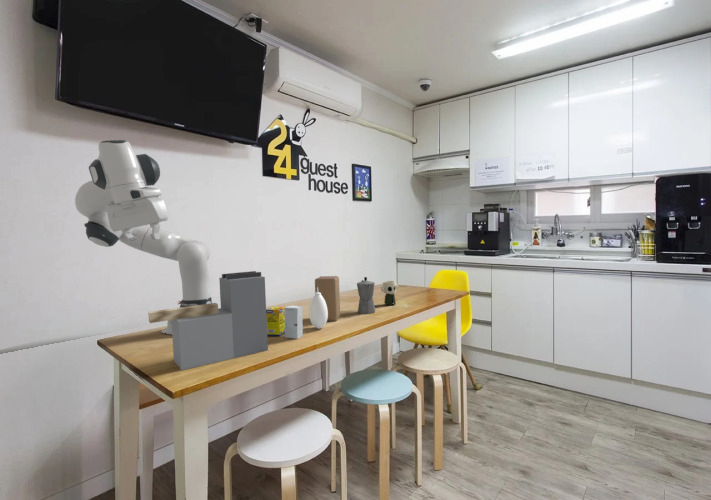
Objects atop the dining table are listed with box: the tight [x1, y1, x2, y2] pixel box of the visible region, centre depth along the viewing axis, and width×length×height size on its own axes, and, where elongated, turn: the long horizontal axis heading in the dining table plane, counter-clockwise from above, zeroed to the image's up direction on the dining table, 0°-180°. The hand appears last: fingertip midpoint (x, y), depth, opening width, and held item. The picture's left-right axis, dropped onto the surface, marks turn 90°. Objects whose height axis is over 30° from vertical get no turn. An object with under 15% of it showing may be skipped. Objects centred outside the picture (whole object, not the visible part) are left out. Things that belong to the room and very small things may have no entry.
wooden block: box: [314, 275, 341, 322], centre depth 170 cm, size 10×10×20 cm
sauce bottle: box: [308, 287, 328, 330], centre depth 154 cm, size 8×8×18 cm
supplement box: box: [266, 306, 286, 337], centre depth 146 cm, size 6×6×11 cm
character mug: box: [380, 280, 399, 306], centre depth 200 cm, size 11×7×13 cm, turn 117°
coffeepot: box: [356, 276, 376, 315], centre depth 184 cm, size 15×9×18 cm, turn 12°
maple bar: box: [148, 302, 219, 324], centre depth 115 cm, size 20×3×3 cm, turn 126°
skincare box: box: [284, 305, 304, 340], centre depth 142 cm, size 6×4×12 cm
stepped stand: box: [171, 270, 269, 371], centre depth 122 cm, size 28×12×28 cm, turn 127°
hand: (144, 241), depth 107 cm, fingers open, 8 cm apart
